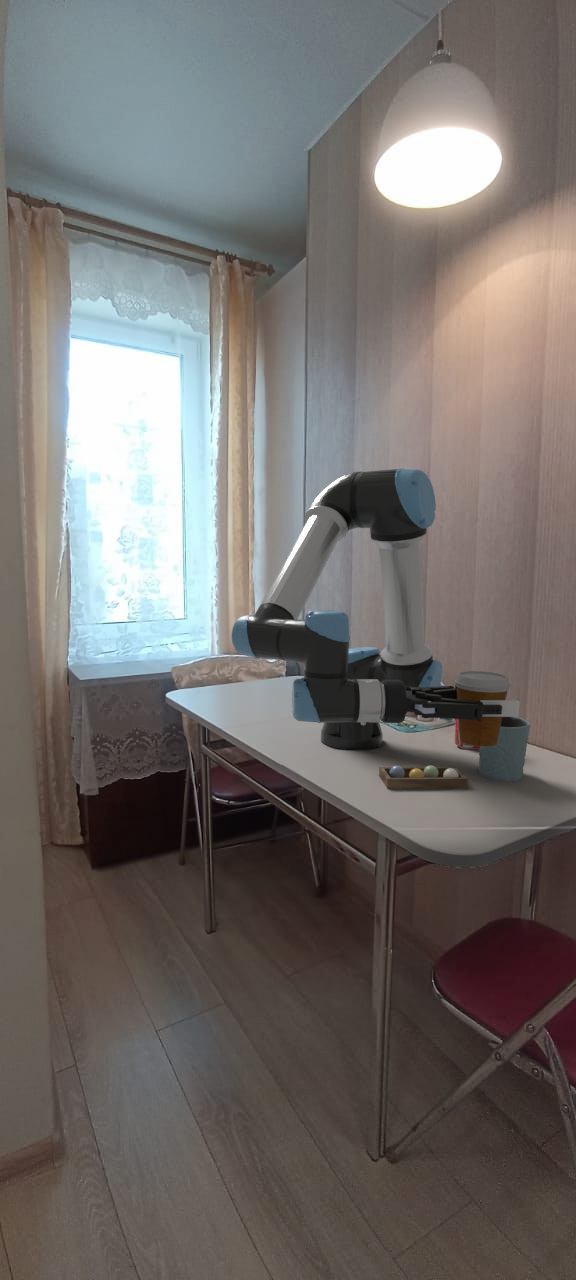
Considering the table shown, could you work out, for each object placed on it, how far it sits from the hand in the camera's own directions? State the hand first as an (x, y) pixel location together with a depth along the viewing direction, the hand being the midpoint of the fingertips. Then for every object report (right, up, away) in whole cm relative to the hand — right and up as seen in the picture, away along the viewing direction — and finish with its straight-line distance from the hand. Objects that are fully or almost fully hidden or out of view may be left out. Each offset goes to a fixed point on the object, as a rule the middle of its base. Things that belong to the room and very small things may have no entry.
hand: (506, 702), depth 108 cm
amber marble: (-13, -18, +13) cm, 26 cm away
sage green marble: (-10, -17, +15) cm, 25 cm away
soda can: (+5, -15, +40) cm, 43 cm away
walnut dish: (-12, -18, +15) cm, 26 cm away
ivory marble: (-6, -18, +14) cm, 23 cm away
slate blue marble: (-17, -17, +15) cm, 28 cm away
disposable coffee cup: (-5, -7, +1) cm, 9 cm away
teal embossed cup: (+6, -18, +20) cm, 27 cm away
